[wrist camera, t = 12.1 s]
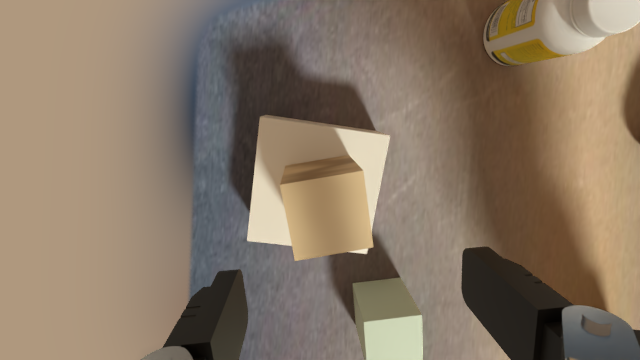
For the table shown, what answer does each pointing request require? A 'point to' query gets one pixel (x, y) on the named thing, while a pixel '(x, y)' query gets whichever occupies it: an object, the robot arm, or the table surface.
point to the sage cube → (387, 320)
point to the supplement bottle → (554, 27)
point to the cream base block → (298, 147)
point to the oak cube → (326, 207)
